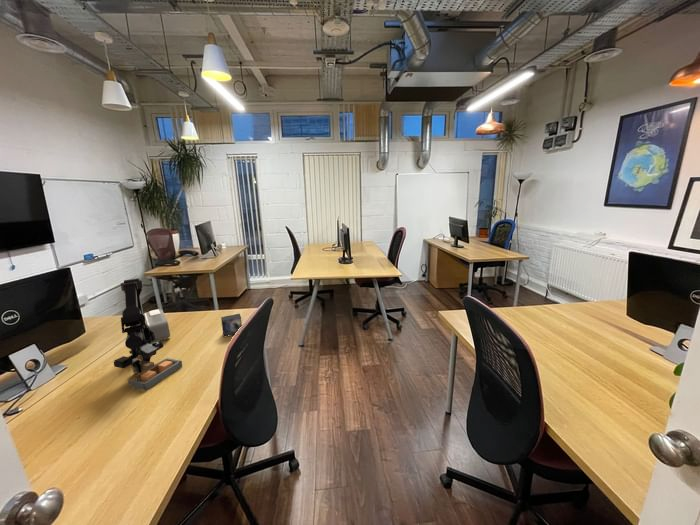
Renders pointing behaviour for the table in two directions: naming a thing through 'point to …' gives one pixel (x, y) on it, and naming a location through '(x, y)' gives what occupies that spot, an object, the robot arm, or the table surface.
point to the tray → (157, 378)
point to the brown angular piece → (147, 368)
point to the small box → (231, 324)
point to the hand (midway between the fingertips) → (143, 370)
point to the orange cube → (164, 365)
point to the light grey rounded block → (157, 324)
